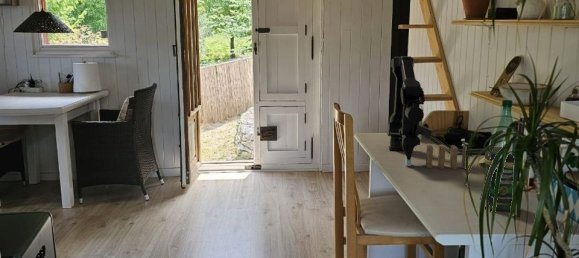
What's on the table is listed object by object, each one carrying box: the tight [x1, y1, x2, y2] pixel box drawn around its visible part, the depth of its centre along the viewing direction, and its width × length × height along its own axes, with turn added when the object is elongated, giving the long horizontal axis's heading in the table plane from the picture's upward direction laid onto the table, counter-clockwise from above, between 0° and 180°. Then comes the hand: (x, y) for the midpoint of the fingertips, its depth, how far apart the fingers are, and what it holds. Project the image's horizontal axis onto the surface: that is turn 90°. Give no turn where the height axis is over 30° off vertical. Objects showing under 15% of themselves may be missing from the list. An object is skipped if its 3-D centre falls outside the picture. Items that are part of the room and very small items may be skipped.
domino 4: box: [449, 145, 459, 170], centre depth 207 cm, size 5×2×8 cm, turn 174°
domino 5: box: [461, 145, 471, 171], centre depth 206 cm, size 5×2×8 cm, turn 174°
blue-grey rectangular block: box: [404, 155, 412, 167], centre depth 209 cm, size 5×2×8 cm, turn 174°
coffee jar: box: [479, 146, 514, 212], centre depth 162 cm, size 10×8×19 cm
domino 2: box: [425, 144, 434, 169], centre depth 208 cm, size 5×2×8 cm, turn 174°
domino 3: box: [437, 144, 446, 170], centre depth 207 cm, size 5×2×8 cm, turn 174°
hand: (407, 157), depth 209 cm, fingers closed on blue-grey rectangular block, 5 cm apart
